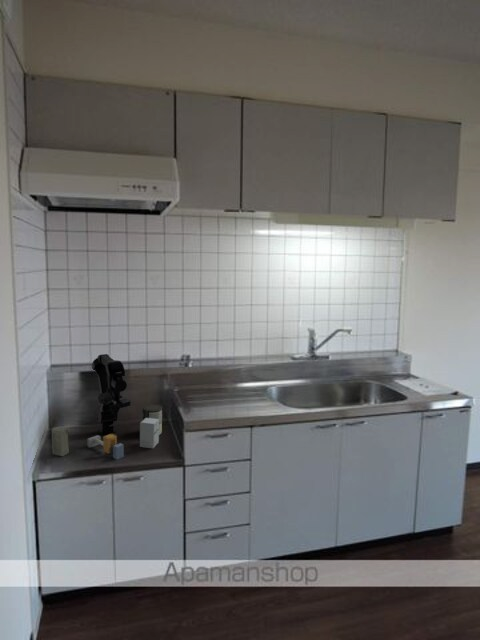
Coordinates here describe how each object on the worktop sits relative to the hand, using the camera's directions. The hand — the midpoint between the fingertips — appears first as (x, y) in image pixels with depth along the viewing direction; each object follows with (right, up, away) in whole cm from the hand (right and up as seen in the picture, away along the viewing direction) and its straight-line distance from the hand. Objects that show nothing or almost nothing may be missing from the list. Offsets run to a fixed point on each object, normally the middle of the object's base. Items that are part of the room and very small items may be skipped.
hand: (114, 416), depth 232 cm
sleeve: (+1, -14, -12) cm, 19 cm away
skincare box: (-22, -15, -14) cm, 30 cm away
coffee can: (+16, -12, +14) cm, 24 cm away
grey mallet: (-1, -15, -10) cm, 18 cm away
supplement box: (+18, -14, -1) cm, 23 cm away
